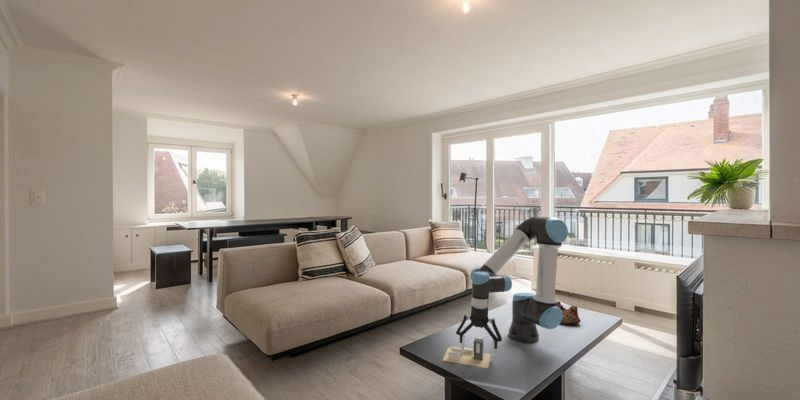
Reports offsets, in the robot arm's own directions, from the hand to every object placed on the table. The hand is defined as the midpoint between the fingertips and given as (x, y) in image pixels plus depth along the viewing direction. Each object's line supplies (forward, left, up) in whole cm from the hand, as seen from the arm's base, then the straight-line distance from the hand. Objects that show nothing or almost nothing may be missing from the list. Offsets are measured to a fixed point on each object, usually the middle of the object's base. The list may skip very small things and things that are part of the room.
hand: (477, 352), depth 158 cm
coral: (-45, -70, -4) cm, 83 cm away
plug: (0, 0, -2) cm, 2 cm away
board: (+5, +1, -3) cm, 6 cm away
